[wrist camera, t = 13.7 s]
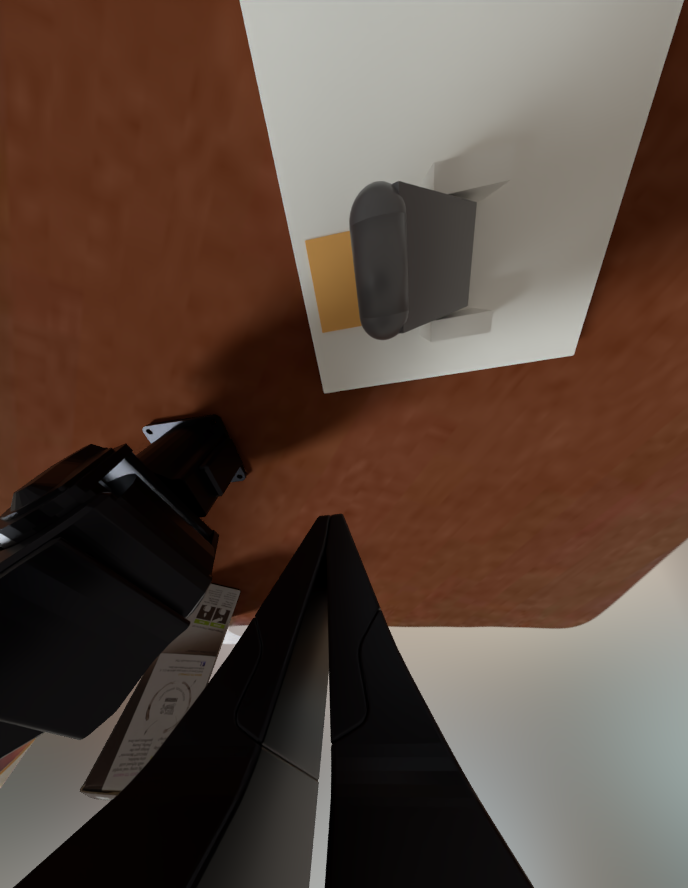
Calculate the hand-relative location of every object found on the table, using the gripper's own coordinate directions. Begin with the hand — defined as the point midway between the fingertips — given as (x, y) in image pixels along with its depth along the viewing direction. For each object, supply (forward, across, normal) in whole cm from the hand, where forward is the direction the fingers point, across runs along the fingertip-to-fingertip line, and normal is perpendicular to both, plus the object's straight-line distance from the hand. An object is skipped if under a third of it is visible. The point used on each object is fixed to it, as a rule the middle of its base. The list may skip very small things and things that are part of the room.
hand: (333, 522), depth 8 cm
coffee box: (+12, +23, +27) cm, 38 cm away
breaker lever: (+10, -7, -7) cm, 14 cm away
